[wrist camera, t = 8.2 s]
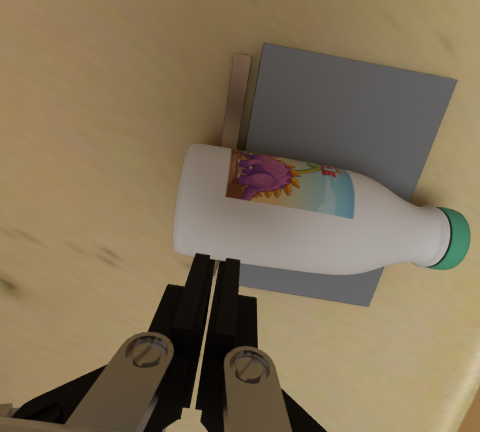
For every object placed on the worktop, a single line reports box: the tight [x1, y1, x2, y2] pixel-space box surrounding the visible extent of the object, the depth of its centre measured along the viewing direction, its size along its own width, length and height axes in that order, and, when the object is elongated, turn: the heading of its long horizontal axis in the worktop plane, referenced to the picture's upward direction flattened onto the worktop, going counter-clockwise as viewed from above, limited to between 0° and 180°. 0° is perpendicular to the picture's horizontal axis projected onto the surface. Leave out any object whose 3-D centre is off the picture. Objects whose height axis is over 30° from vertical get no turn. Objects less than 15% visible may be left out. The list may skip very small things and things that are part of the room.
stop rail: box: [213, 53, 252, 276], centre depth 26 cm, size 18×1×1 cm, turn 170°
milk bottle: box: [173, 143, 470, 275], centre depth 23 cm, size 8×8×20 cm
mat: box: [239, 43, 458, 307], centre depth 27 cm, size 20×14×1 cm
